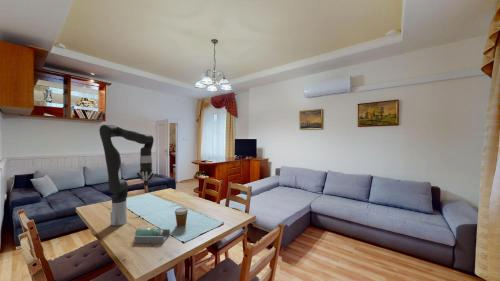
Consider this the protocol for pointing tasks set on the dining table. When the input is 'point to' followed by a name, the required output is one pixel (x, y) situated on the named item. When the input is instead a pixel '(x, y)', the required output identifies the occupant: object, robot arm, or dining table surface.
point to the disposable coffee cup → (181, 216)
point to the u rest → (153, 237)
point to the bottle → (148, 232)
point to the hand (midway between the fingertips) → (146, 185)
